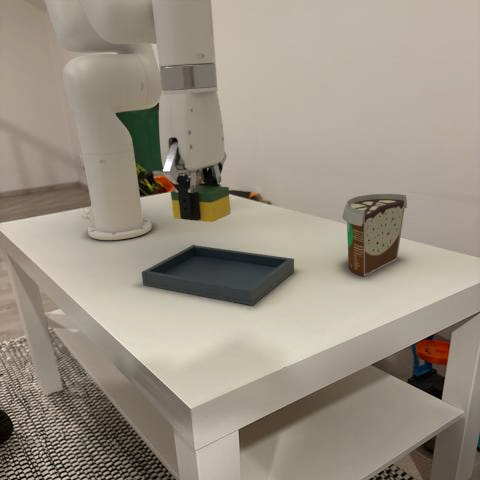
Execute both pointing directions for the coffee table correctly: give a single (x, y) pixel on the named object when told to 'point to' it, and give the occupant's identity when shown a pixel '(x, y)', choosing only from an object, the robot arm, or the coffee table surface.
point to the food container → (373, 230)
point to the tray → (220, 273)
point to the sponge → (207, 203)
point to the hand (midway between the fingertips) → (201, 213)
